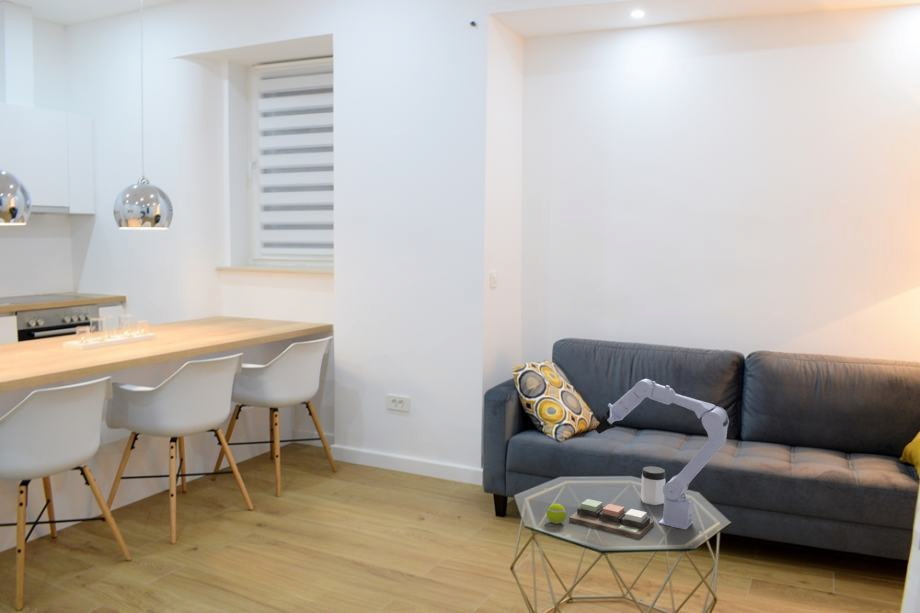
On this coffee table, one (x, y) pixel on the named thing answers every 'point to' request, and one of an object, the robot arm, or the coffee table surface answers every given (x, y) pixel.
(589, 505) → the key sage
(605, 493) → the coffee table surface
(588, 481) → the coffee table surface
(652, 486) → the jar
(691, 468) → the robot arm
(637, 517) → the key white
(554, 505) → the tennis ball
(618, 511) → the key terracotta
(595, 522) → the console
